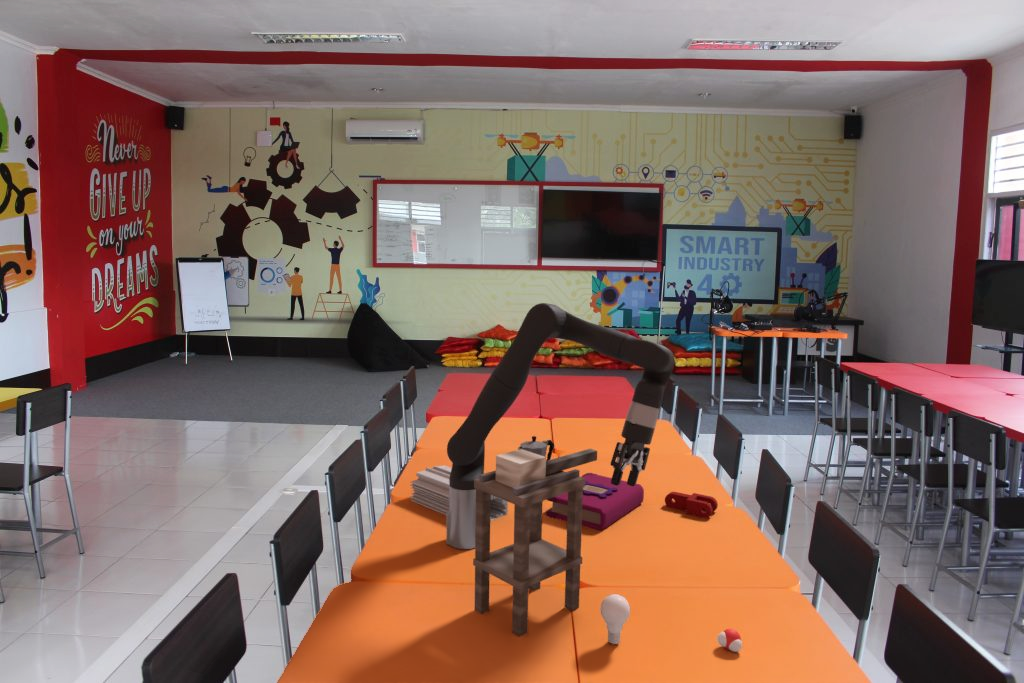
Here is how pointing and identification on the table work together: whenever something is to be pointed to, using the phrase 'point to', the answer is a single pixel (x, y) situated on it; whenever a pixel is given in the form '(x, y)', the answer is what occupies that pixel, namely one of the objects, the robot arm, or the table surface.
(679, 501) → the mechanical linkage
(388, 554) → the table surface
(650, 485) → the table surface
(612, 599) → the lightbulb
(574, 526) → the shelf stand
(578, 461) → the wooden mallet
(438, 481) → the stack of papers
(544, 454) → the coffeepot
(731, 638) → the molecule
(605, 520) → the book
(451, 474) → the robot arm
